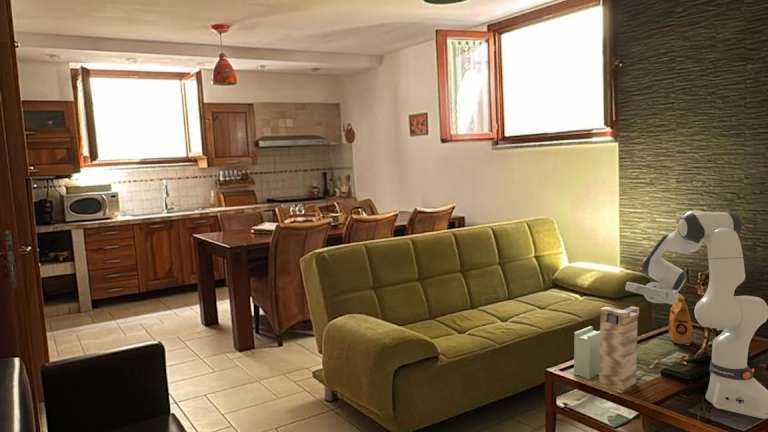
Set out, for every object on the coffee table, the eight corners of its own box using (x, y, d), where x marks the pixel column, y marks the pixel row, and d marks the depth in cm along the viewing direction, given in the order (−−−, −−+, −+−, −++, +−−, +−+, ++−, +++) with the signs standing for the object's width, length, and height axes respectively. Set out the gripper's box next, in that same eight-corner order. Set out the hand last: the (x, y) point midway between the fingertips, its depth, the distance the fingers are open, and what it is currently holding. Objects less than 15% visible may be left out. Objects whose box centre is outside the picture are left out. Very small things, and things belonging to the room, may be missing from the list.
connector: (639, 314, 233) (639, 307, 232) (615, 324, 221) (615, 316, 221) (631, 313, 235) (632, 306, 235) (608, 322, 224) (608, 315, 223)
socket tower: (636, 383, 228) (637, 308, 224) (623, 390, 222) (624, 313, 218) (612, 375, 236) (613, 303, 232) (599, 382, 229) (600, 308, 226)
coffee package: (669, 344, 270) (670, 299, 267) (667, 336, 281) (669, 292, 279) (692, 346, 266) (694, 300, 263) (690, 338, 277) (692, 294, 275)
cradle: (605, 371, 240) (605, 329, 238) (589, 379, 233) (589, 336, 231) (589, 366, 246) (590, 326, 244) (574, 374, 238) (574, 332, 236)
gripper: (631, 279, 252) (623, 277, 241) (682, 291, 239) (675, 290, 228) (628, 293, 252) (619, 292, 241) (678, 306, 239) (671, 305, 228)
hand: (647, 291), depth 235 cm, fingers open, 8 cm apart
